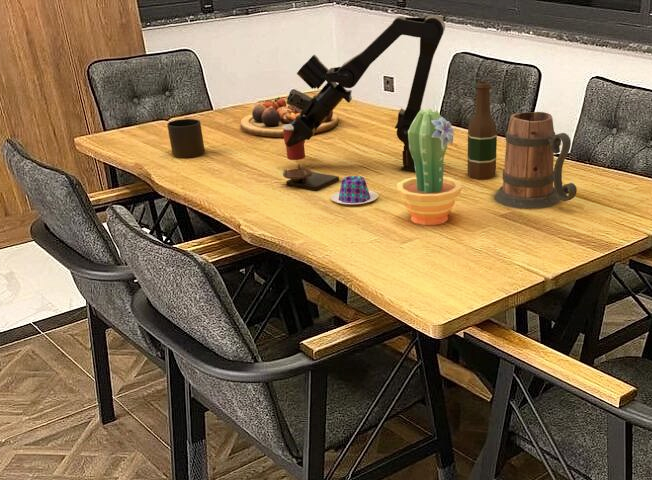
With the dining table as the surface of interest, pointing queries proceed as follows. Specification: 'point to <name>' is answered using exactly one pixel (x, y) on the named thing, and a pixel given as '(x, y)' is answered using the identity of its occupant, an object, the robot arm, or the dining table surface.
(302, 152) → the red cup with lid
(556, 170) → the tankard
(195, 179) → the dining table surface
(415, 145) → the potted cactus
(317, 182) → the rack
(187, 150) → the dark brown cup
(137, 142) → the dining table surface
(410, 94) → the robot arm
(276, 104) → the wooden plate
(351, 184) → the pudding
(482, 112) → the beer bottle
